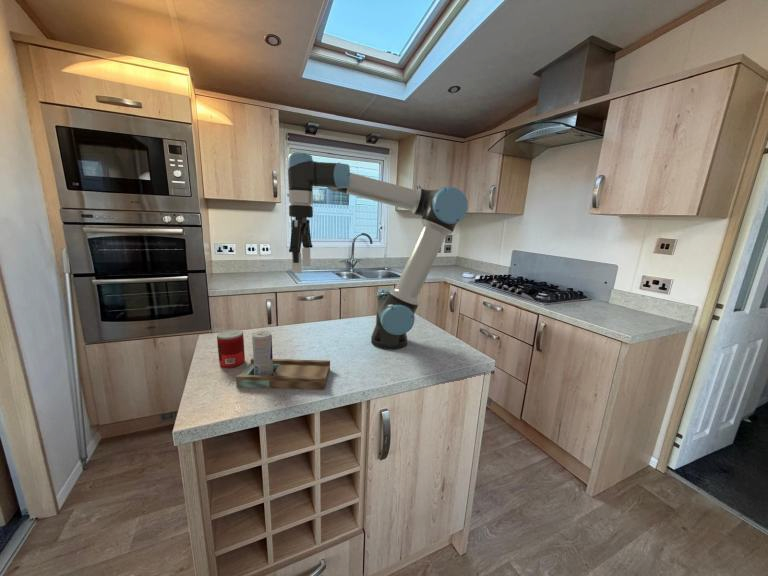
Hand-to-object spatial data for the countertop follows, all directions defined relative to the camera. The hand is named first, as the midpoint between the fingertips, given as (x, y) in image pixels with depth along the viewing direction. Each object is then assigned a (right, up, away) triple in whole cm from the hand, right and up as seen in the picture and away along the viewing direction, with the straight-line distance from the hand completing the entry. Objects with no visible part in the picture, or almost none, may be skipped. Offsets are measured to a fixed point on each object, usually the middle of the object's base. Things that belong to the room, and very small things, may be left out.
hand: (302, 269), depth 105 cm
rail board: (-3, -35, -7) cm, 36 cm away
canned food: (-24, -32, +1) cm, 41 cm away
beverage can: (-10, -35, -7) cm, 37 cm away
